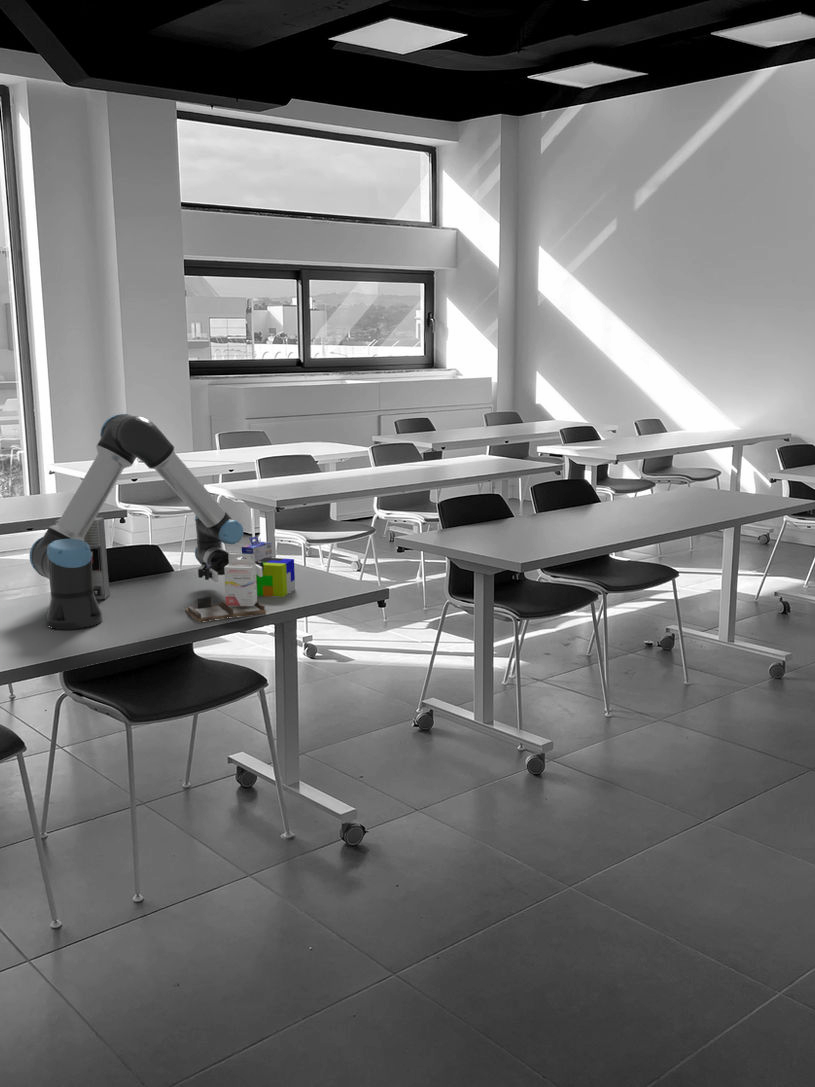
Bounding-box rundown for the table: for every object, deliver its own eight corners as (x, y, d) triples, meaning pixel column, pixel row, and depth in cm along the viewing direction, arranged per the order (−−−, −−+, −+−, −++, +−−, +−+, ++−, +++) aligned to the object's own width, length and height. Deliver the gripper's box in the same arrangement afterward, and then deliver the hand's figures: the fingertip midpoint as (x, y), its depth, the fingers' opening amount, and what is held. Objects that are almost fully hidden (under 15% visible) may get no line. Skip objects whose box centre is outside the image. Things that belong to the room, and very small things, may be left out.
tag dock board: (198, 623, 300) (198, 609, 299) (185, 611, 312) (184, 598, 311) (265, 613, 309) (265, 600, 308) (250, 603, 321) (249, 590, 320)
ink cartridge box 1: (225, 606, 309) (222, 556, 306) (229, 601, 314) (227, 553, 311) (253, 606, 308) (251, 557, 305) (257, 602, 313) (255, 553, 310)
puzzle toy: (295, 589, 337) (294, 559, 335) (283, 597, 328) (282, 565, 326) (266, 588, 340) (264, 557, 338) (253, 595, 330) (252, 564, 328)
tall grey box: (60, 601, 327) (53, 521, 322) (66, 596, 333) (59, 518, 328) (104, 600, 327) (99, 520, 322) (110, 595, 333) (104, 517, 328)
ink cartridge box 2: (261, 576, 355) (260, 534, 352) (274, 578, 352) (272, 535, 350) (242, 582, 347) (240, 539, 344) (255, 584, 344) (253, 541, 341)
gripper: (257, 568, 336) (279, 582, 318) (179, 577, 326) (198, 592, 307) (256, 545, 335) (278, 557, 316) (178, 553, 324) (196, 567, 305)
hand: (239, 574), depth 311 cm, fingers open, 13 cm apart
